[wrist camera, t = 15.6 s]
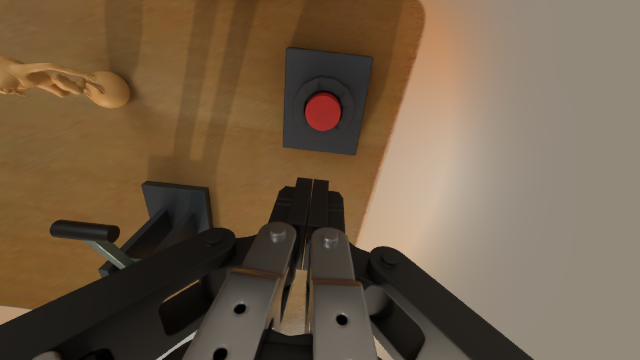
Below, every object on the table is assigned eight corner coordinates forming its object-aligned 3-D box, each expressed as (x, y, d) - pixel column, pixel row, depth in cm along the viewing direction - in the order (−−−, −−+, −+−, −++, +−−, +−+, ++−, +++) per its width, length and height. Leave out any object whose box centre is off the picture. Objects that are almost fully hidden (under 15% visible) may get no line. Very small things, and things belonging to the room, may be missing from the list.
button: (308, 90, 27) (306, 93, 25) (342, 94, 27) (343, 97, 26) (305, 124, 29) (304, 128, 27) (337, 127, 29) (338, 132, 27)
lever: (61, 212, 23) (41, 235, 22) (117, 218, 24) (100, 242, 22) (127, 265, 33) (115, 285, 31) (166, 270, 33) (157, 289, 31)
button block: (289, 46, 28) (283, 48, 25) (370, 56, 28) (375, 58, 25) (285, 141, 34) (279, 153, 30) (354, 149, 34) (356, 161, 30)
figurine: (100, 109, 33) (-10, 143, 22) (70, 58, 30) (-72, 68, 19) (159, 97, 32) (72, 126, 21) (133, 42, 29) (19, 45, 18)
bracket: (146, 180, 38) (66, 241, 26) (208, 187, 38) (154, 250, 26) (162, 243, 43) (102, 314, 32) (215, 248, 43) (174, 322, 32)
